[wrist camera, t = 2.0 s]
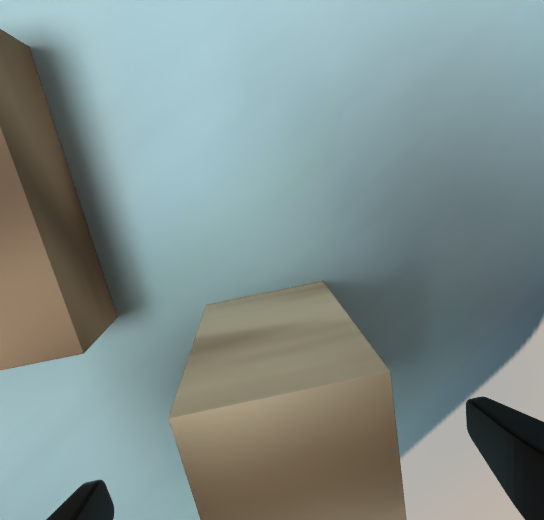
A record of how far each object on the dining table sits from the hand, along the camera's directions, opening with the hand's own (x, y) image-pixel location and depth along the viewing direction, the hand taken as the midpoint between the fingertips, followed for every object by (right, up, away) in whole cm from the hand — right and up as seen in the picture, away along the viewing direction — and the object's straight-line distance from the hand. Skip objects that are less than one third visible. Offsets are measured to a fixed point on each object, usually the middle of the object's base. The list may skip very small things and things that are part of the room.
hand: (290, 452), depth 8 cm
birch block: (0, +1, +5) cm, 5 cm away
